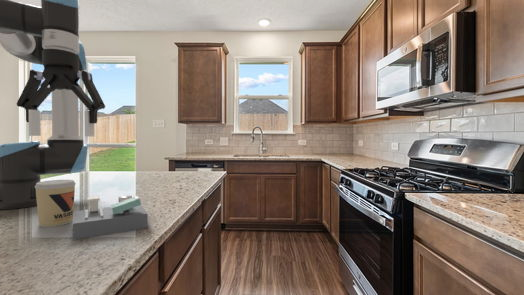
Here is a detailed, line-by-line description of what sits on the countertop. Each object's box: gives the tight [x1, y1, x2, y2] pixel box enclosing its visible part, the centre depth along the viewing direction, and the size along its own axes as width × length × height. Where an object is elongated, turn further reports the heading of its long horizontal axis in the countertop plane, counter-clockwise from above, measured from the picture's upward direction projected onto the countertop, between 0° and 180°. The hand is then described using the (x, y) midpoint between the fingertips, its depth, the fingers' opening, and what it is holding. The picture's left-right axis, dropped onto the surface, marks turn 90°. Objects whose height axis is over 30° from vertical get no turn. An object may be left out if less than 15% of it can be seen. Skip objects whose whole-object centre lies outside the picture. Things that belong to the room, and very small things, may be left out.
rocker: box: [110, 195, 142, 214], centre depth 74 cm, size 4×7×2 cm, turn 123°
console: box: [72, 204, 149, 241], centre depth 75 cm, size 13×17×5 cm
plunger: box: [118, 195, 133, 203], centre depth 80 cm, size 4×4×3 cm
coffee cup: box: [35, 179, 76, 228], centre depth 78 cm, size 9×9×12 cm
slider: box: [87, 195, 101, 212], centre depth 76 cm, size 3×3×4 cm
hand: (62, 136), depth 68 cm, fingers open, 13 cm apart
